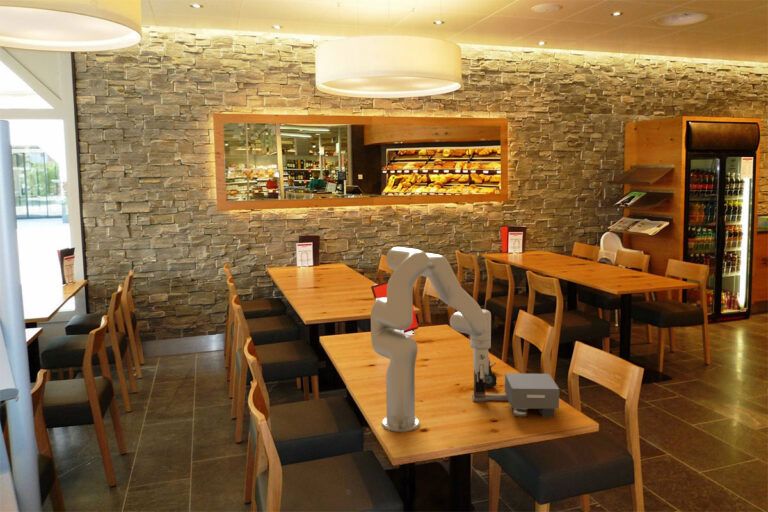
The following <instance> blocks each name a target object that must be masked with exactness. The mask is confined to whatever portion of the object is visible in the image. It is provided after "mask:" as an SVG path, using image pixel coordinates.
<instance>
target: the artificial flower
mask: <svg viewBox="0 0 768 512" xmlns="http://www.w3.org/2000/svg"><path fill="white" fill-rule="evenodd" d="M488 358H489V375H486V374H485V389H487V388H488V389H491V388H494V387H496V386H497V376H496V375H495V374H494V373H493V370H492V368H493V367H494V366H495V365H497V363H496V362H494V363H493V364H491V359H490V357H489V356H488Z"/></svg>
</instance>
